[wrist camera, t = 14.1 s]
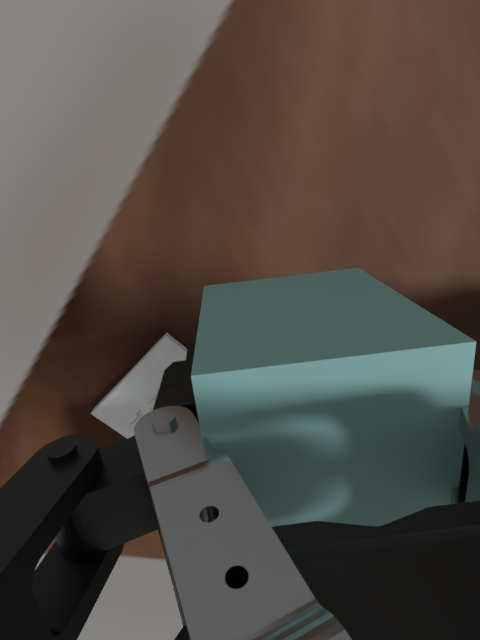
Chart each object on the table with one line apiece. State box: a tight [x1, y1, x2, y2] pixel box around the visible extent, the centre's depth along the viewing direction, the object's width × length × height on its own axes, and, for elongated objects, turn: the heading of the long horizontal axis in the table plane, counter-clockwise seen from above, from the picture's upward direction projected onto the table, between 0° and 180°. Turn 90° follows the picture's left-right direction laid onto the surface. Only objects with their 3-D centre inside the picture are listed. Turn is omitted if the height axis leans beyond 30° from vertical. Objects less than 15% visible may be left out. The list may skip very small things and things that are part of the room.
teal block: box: [191, 268, 476, 527], centre depth 10 cm, size 5×5×6 cm
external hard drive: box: [91, 333, 188, 439], centre depth 28 cm, size 2×8×12 cm
